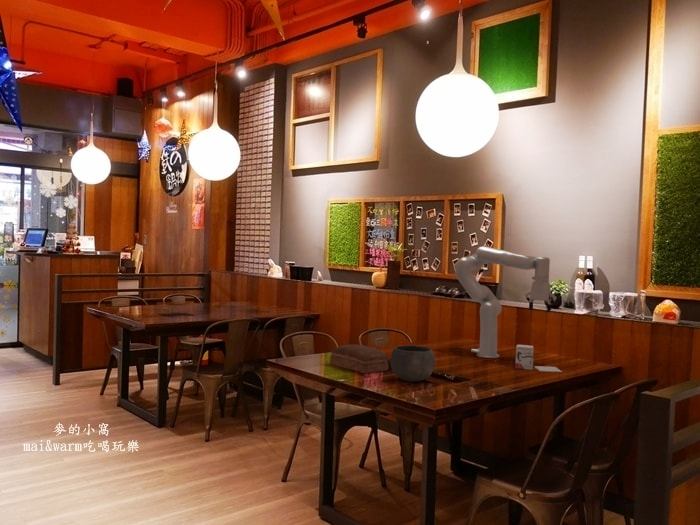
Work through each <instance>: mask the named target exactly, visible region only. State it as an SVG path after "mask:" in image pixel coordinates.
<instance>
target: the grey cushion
mask: <svg viewBox="0 0 700 525" xmlns="http://www.w3.org/2000/svg"><path fill="white" fill-rule="evenodd" d="M329 363H330V365H332V366H336V367H339V368H344V369H347V370H350V371H354V372H359V373H361V374H371V373H378V372H379V373H380V372H386V371H388V369H389V362H388V355H387V354H386V353H385V352H384V351H382V350H380V349H378V348H375V347H371V346H367V345H364V344H346V345H345V344H344V345H340V346H337V347H335V348H333V349H332V351H331V356H330V359H329Z"/></svg>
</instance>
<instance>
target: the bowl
mask: <svg viewBox="0 0 700 525" xmlns="http://www.w3.org/2000/svg"><path fill="white" fill-rule="evenodd" d="M434 353H435V352H434V351H433V349H432V348H429V347H428V346H427V347H426V346H420V345H411V344H408V345H407V344H406V345H398V346H395V347H394V348H393V349H392V351H391V354H390V358H389V361H390V362H389V363H390V368H391V370H392V372H393V373H394V374H395V376H396V377H397V378H399V379H400V380H402V381H405V382H409V383H411V382H412V383H417V382H422V381H425V380H426V379H428V378H429V377H430V376H431V375H432V374H433V372H434V370H435V367H436V357H435V354H434Z"/></svg>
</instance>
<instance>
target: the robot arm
mask: <svg viewBox="0 0 700 525" xmlns="http://www.w3.org/2000/svg"><path fill="white" fill-rule="evenodd" d="M487 263H489V264H495V265H500V266H503V267H509V268H515V269H520V270H534V275H533V276H532V277H531V280H533V281H532V284H531V287H530V291H529V292H527V293H525V294H524V297H525V299H526V300H527V302H528V303H529V304H528V309H529V311H533V310H534V301H541V302H542V301H543V302H544V301H545V302H547V306H546V312H548V313H550V312H551V311H552V305H553V304H554V303H555V302H556V300H557V296H556V295H554V294H553V293H552V290H551V283H550V282H549V281H550V264H551V260H550V257H546V256H532V255H522V254H518V253H514V252H513V253H512V252H510V251H507V250H504V249H500V248H494V247H491V246H486V245H485V246H483V245H482V246H479V247H477V249H476V251H475V253H473V254H471V255H470V256H463V257H460V258H459V259H458V260H457V261H456V264H455V267H454V272H455V276H456V279H457V280H458V282H459V283H460V284H461V285H462V287H463V289H464V290H465V292H466V293H467V294H468V295H469V297H470V298H471V299H472V301H474V302H476V303H479V304H480V308H479V320H480V321H479V322H480V323H479V326H480V328H479V329H480V331H479V333H480V334H479V347H478V348H471V350H470V351H471V353H476V356H477V357H479V358H486V359H497V358H498V359H499V357H500V354H498V352H497V351H498V316H499V315H500V314H501V313H502V311H503V310H502V309H503V307H502V304H501V302H500V301H499V300H498V298H497V297H496V295H494V293H493V291H492V290H491V289H490V288H489V287H488V286H486V285H483V284H480V282H479V281H478V280H477V278H476V277H475V276H474V275H473V274H472V272H473V271H475V270H477V269H479V268H480V267H483V266H484V265H485V264H487ZM551 298H552V300H551Z"/></svg>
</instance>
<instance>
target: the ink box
mask: <svg viewBox="0 0 700 525" xmlns="http://www.w3.org/2000/svg"><path fill="white" fill-rule="evenodd" d="M534 350H535V349H534V346H533V345H527V344H516V347H515V369H516V370H517V369H518V370H528V371H529V370H530V371H533V369H534V368H533V367H534Z"/></svg>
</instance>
